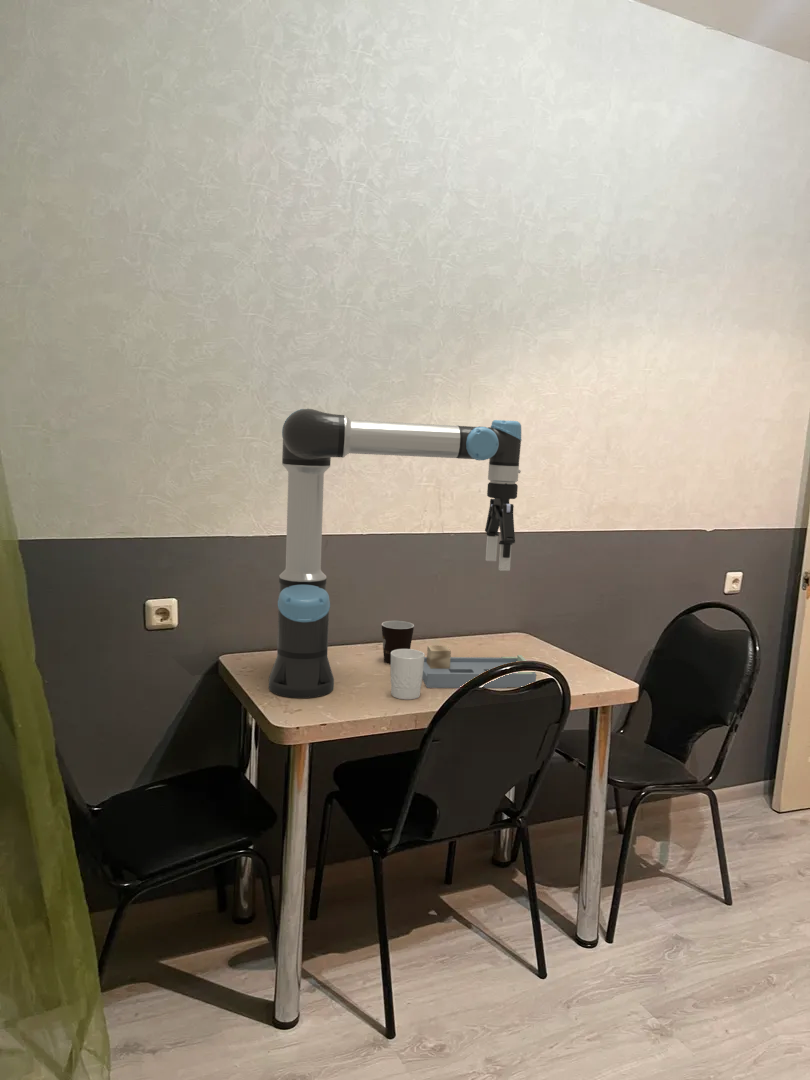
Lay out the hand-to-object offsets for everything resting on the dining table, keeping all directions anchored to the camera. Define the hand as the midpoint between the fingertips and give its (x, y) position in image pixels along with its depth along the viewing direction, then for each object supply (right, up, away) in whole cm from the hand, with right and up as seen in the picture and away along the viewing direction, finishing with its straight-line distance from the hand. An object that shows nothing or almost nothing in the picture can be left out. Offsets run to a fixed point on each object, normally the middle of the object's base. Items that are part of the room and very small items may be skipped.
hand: (497, 565), depth 206 cm
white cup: (-23, -30, -18) cm, 42 cm away
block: (-15, -25, -2) cm, 29 cm away
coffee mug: (-26, -26, +10) cm, 38 cm away
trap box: (-6, -28, -3) cm, 29 cm away
